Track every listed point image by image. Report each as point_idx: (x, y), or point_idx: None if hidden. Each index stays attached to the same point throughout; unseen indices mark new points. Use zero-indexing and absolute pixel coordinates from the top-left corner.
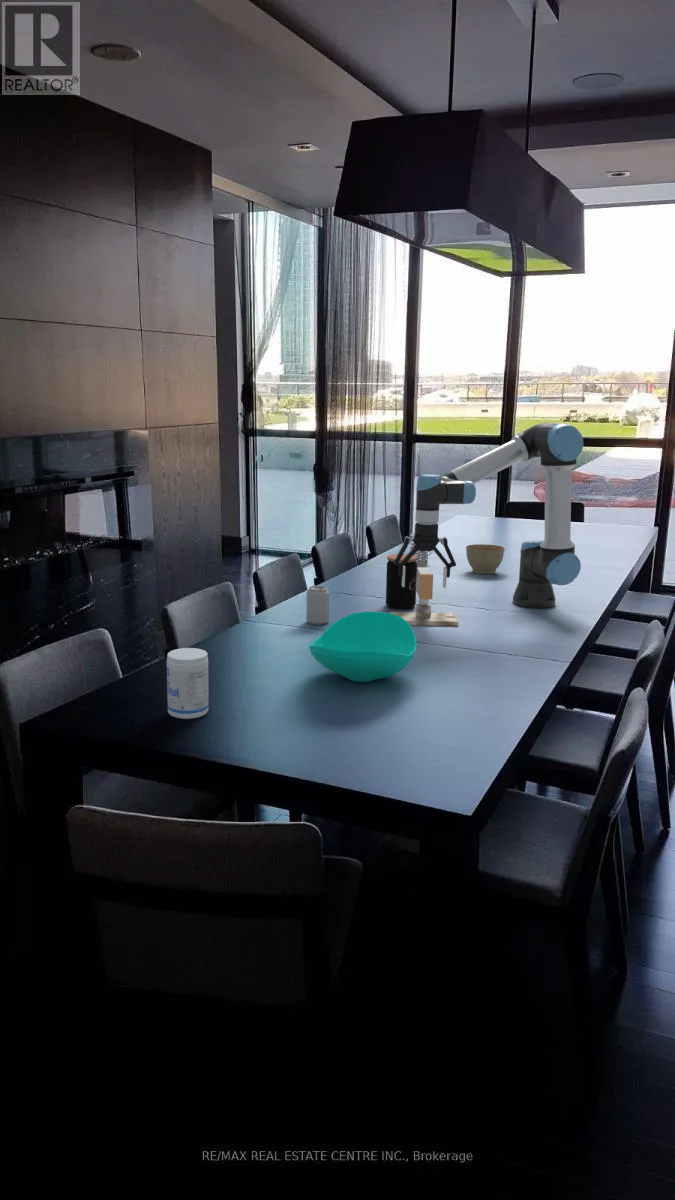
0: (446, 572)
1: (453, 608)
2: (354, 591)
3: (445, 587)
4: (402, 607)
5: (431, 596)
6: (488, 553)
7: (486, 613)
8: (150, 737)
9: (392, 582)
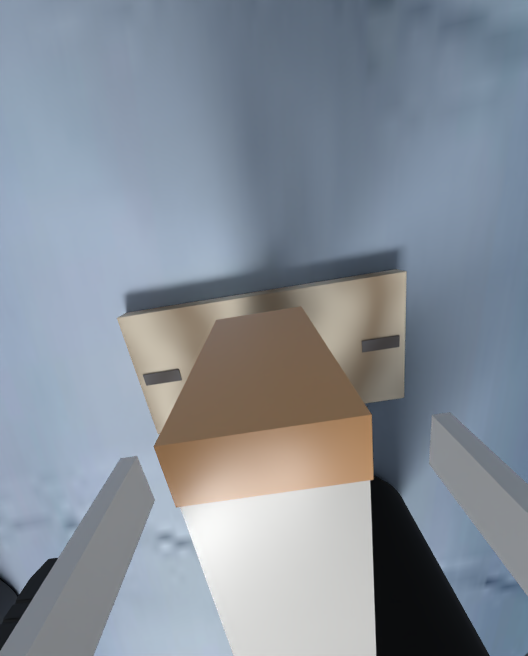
0: (24, 618)
1: (180, 515)
2: (473, 606)
3: (122, 461)
4: None
5: (219, 324)
6: None
7: (64, 485)
8: None
9: (439, 585)
